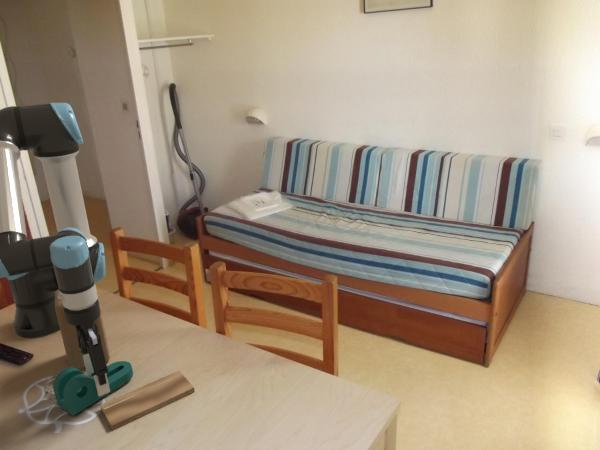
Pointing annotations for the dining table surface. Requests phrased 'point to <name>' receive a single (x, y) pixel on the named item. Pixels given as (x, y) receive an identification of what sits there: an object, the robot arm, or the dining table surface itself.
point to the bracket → (86, 386)
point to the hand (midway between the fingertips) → (98, 384)
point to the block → (71, 338)
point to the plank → (146, 399)
